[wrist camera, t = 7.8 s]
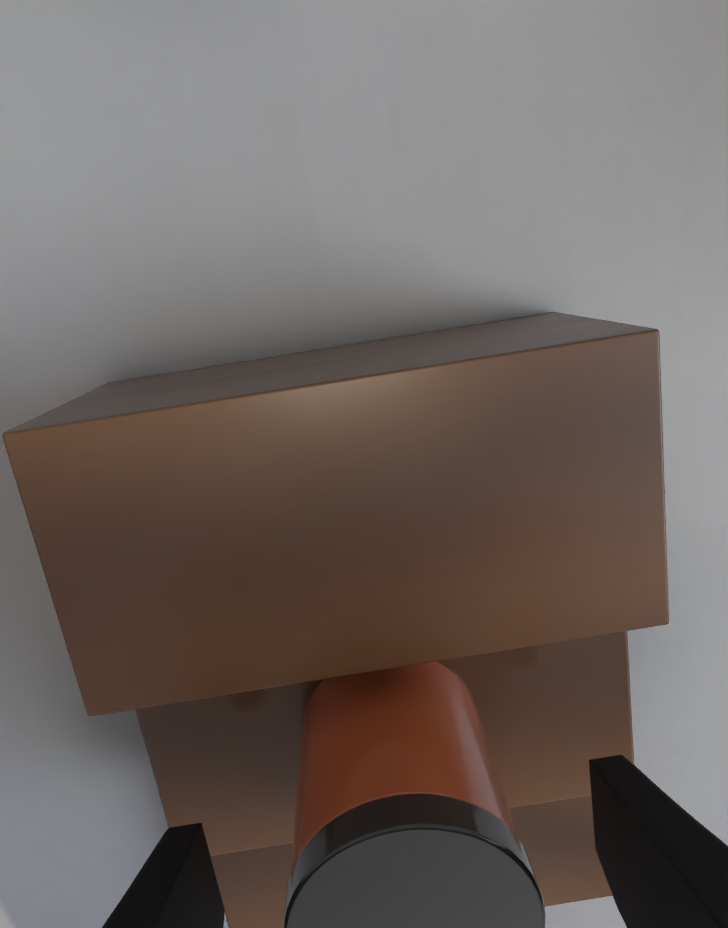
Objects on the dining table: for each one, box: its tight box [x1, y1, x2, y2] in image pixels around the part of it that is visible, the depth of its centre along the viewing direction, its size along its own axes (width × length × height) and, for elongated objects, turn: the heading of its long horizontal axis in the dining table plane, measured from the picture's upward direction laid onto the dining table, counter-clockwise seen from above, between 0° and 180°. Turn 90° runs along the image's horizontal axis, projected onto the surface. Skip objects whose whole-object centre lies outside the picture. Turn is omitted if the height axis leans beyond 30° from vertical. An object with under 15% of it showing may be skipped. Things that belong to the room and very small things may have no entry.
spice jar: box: [284, 661, 545, 928], centre depth 13 cm, size 4×4×5 cm
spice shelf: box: [2, 312, 669, 928], centre depth 16 cm, size 16×11×6 cm, turn 9°
